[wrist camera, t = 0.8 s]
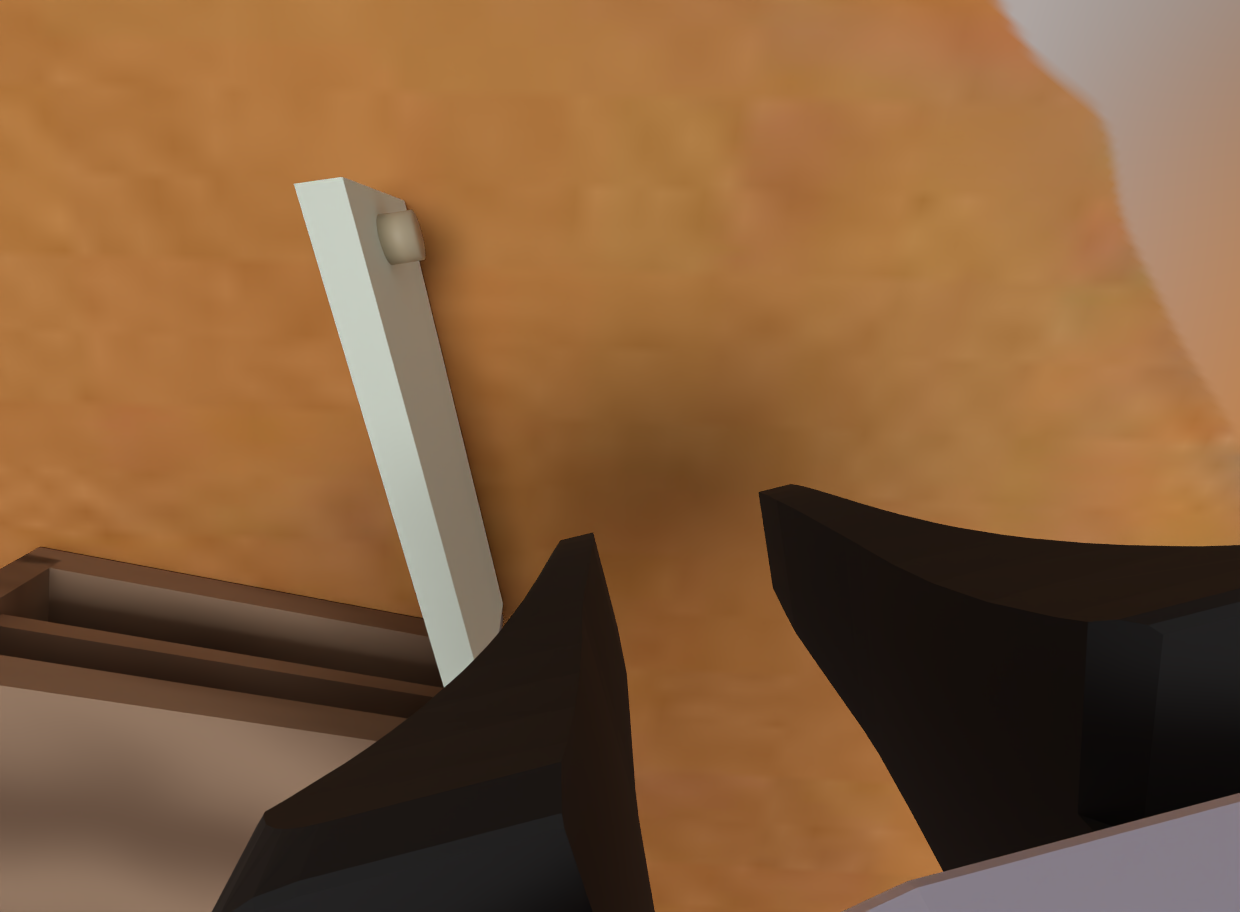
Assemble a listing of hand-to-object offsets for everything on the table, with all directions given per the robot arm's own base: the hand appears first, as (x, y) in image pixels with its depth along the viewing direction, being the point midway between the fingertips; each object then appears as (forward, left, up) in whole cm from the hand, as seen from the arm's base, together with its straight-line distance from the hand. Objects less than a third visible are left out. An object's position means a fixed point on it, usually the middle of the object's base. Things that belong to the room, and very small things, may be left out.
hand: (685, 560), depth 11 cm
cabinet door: (-2, +5, -10) cm, 12 cm away
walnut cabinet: (-14, +10, -10) cm, 20 cm away
